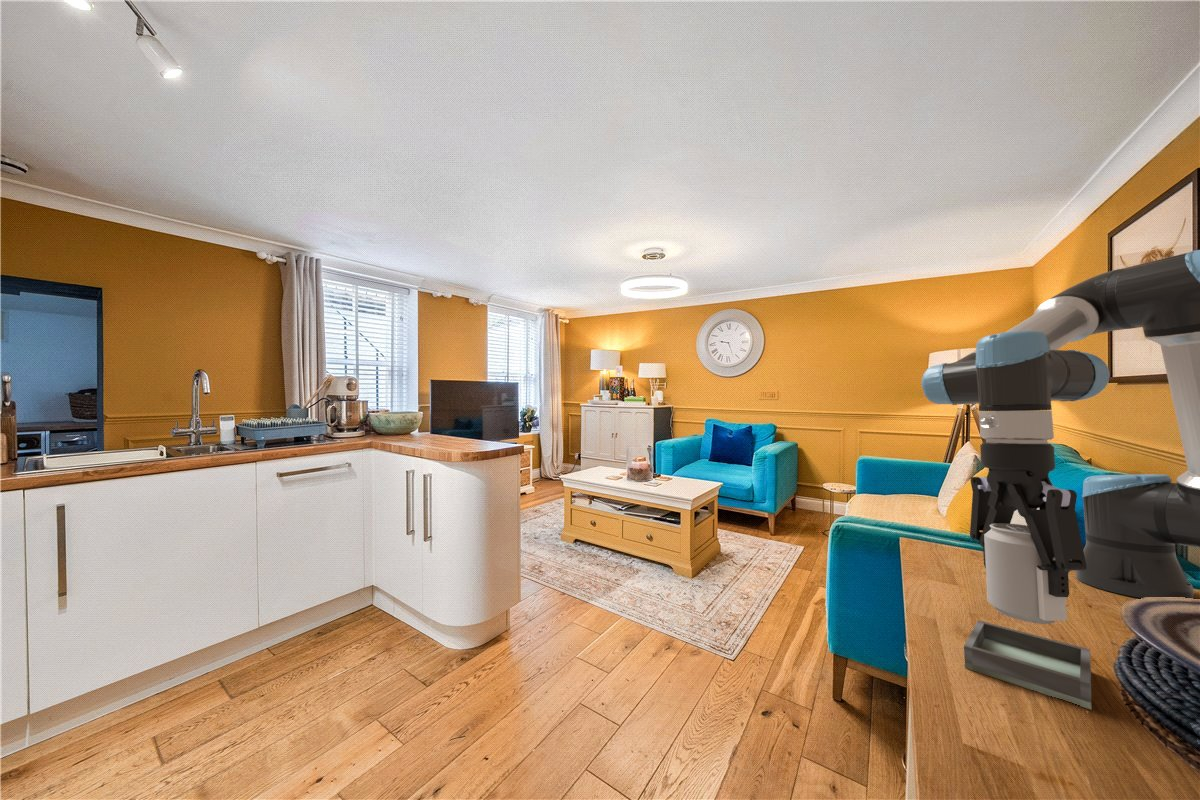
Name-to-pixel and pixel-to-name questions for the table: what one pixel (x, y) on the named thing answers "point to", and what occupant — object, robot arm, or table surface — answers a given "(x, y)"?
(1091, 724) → the table surface
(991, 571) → the can
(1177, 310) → the robot arm
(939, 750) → the table surface
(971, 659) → the tray
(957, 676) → the table surface
